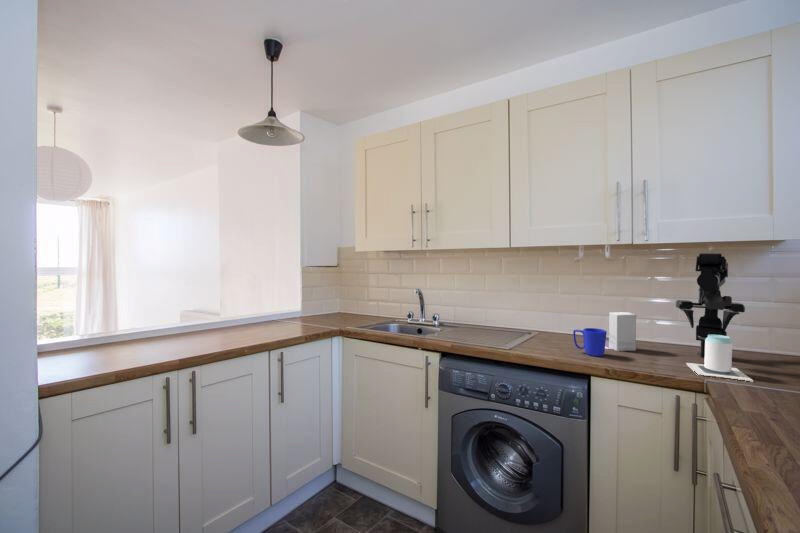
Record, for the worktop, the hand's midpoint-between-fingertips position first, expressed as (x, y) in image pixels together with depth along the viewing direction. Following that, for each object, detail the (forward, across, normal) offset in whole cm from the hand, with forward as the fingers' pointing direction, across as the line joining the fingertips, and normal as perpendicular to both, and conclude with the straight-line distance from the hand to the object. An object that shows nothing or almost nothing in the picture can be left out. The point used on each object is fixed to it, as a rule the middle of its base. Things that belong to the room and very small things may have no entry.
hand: (708, 329), depth 134 cm
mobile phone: (+14, -30, +16) cm, 36 cm away
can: (+12, 0, -11) cm, 17 cm away
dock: (+13, 0, -11) cm, 17 cm away
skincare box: (+13, -26, +10) cm, 31 cm away
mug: (+13, -39, -4) cm, 41 cm away
